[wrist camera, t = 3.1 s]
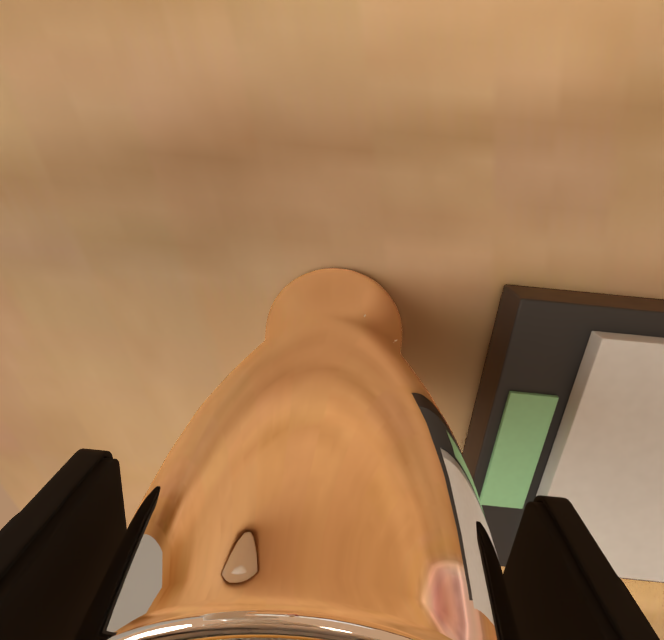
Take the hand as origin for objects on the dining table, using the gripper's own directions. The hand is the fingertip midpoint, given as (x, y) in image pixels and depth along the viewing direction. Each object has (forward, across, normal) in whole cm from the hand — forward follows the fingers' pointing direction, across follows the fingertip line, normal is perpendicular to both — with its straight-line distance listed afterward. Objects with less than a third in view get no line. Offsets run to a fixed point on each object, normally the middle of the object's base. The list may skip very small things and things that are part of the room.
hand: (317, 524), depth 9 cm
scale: (+11, -15, +4) cm, 19 cm away
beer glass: (+11, 0, 0) cm, 11 cm away
